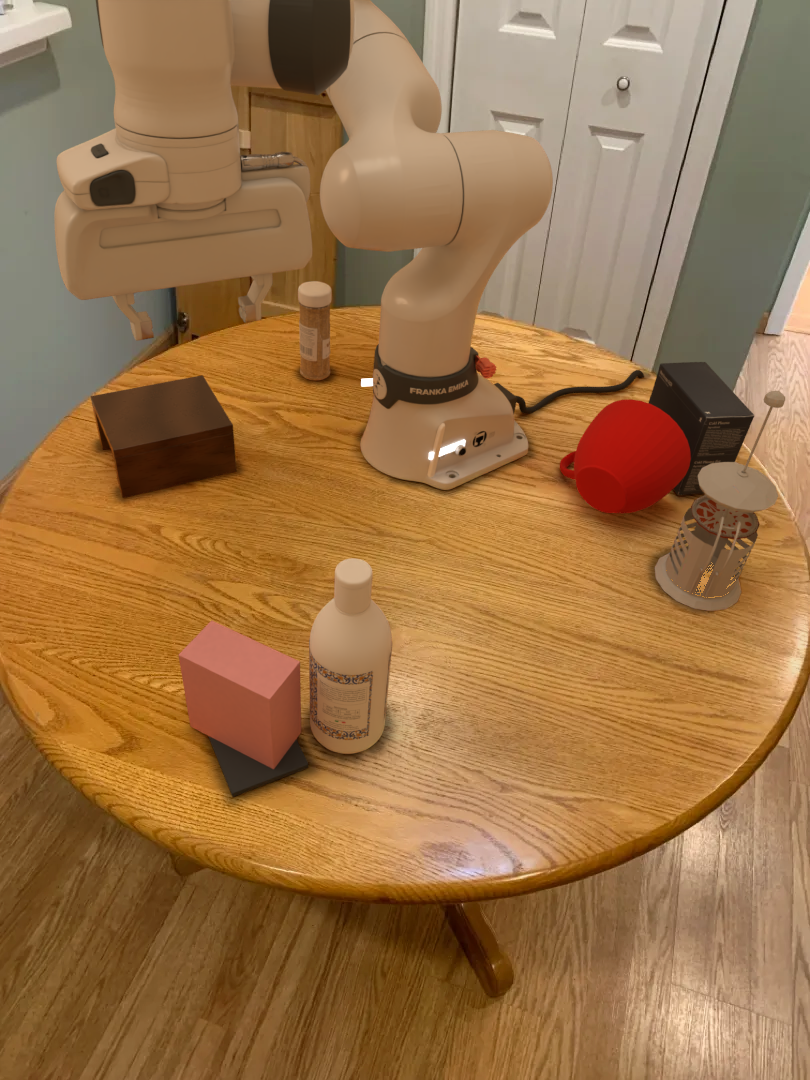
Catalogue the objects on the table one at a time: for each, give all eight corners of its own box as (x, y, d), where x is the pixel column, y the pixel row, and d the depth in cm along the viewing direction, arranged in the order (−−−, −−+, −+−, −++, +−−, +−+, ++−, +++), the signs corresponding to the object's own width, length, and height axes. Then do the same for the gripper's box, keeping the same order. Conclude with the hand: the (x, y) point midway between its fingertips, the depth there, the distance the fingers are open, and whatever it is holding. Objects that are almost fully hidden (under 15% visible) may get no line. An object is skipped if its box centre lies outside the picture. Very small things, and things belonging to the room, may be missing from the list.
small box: (725, 493, 109) (757, 415, 101) (677, 497, 108) (706, 419, 100) (679, 434, 119) (706, 359, 111) (634, 438, 117) (658, 361, 109)
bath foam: (345, 682, 82) (351, 528, 69) (399, 722, 79) (416, 569, 66) (294, 726, 78) (289, 570, 65) (349, 770, 75) (356, 617, 61)
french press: (743, 564, 99) (830, 379, 82) (738, 632, 91) (834, 442, 74) (659, 541, 101) (727, 356, 84) (647, 606, 93) (720, 415, 76)
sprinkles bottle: (336, 377, 123) (337, 290, 114) (308, 384, 121) (308, 297, 112) (320, 362, 126) (321, 277, 117) (293, 369, 124) (291, 283, 115)
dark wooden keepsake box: (207, 420, 113) (202, 374, 108) (236, 471, 105) (233, 424, 101) (100, 442, 108) (90, 396, 103) (122, 498, 100) (113, 450, 95)
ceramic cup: (553, 533, 110) (593, 489, 115) (666, 535, 97) (706, 485, 101) (512, 450, 105) (556, 407, 110) (625, 440, 92) (669, 392, 96)
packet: (220, 692, 79) (211, 620, 73) (301, 732, 77) (300, 661, 70) (190, 726, 76) (178, 654, 70) (273, 769, 74) (269, 699, 67)
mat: (265, 677, 82) (265, 673, 81) (308, 767, 75) (308, 764, 74) (194, 701, 79) (193, 697, 79) (232, 797, 72) (232, 793, 72)
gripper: (295, 137, 70) (297, 294, 79) (33, 158, 62) (69, 329, 71) (325, 162, 66) (323, 324, 75) (49, 188, 58) (85, 366, 67)
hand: (198, 327), depth 73 cm, fingers open, 8 cm apart
